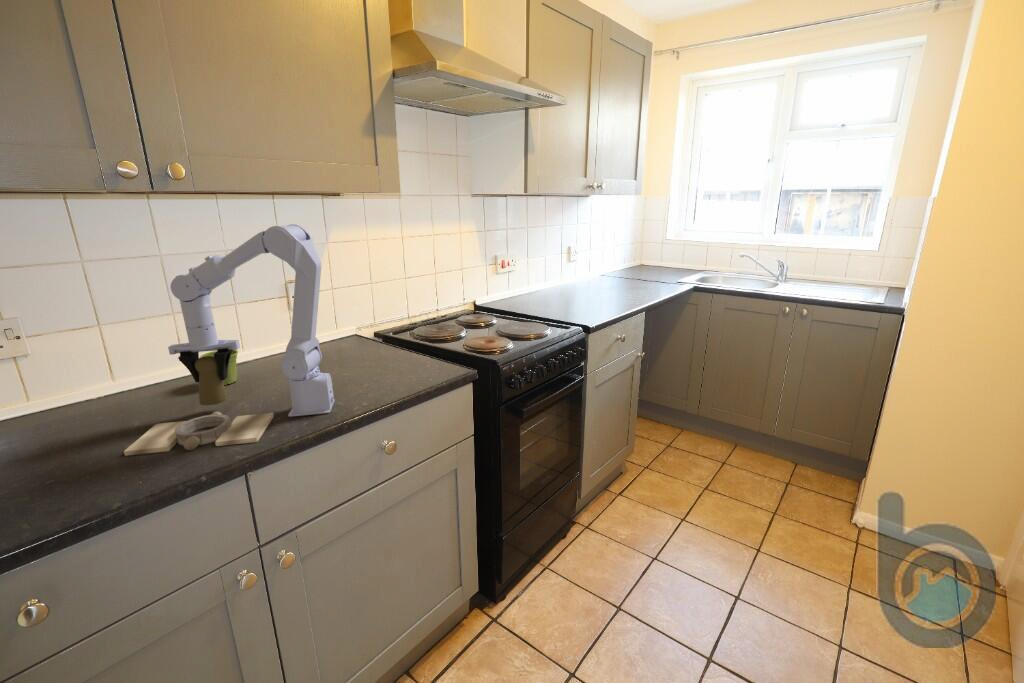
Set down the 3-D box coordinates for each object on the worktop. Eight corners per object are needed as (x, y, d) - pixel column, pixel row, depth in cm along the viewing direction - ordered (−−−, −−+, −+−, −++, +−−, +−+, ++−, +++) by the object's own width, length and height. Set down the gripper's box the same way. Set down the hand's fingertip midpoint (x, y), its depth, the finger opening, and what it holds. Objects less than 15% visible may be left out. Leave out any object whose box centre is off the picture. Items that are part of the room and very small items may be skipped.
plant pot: (204, 382, 138) (197, 353, 136) (240, 374, 144) (235, 347, 141) (207, 391, 131) (201, 361, 129) (245, 383, 136) (240, 354, 134)
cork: (201, 407, 112) (192, 363, 109) (197, 399, 117) (189, 356, 114) (230, 401, 116) (223, 358, 113) (226, 393, 121) (219, 351, 117)
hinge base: (274, 415, 115) (273, 405, 114) (256, 443, 101) (254, 432, 101) (158, 426, 110) (156, 416, 110) (122, 457, 97) (119, 446, 96)
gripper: (239, 319, 117) (249, 371, 120) (173, 323, 114) (186, 377, 118) (229, 326, 110) (240, 381, 114) (159, 330, 107) (172, 387, 111)
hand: (211, 379), depth 115 cm, fingers closed on cork, 5 cm apart
